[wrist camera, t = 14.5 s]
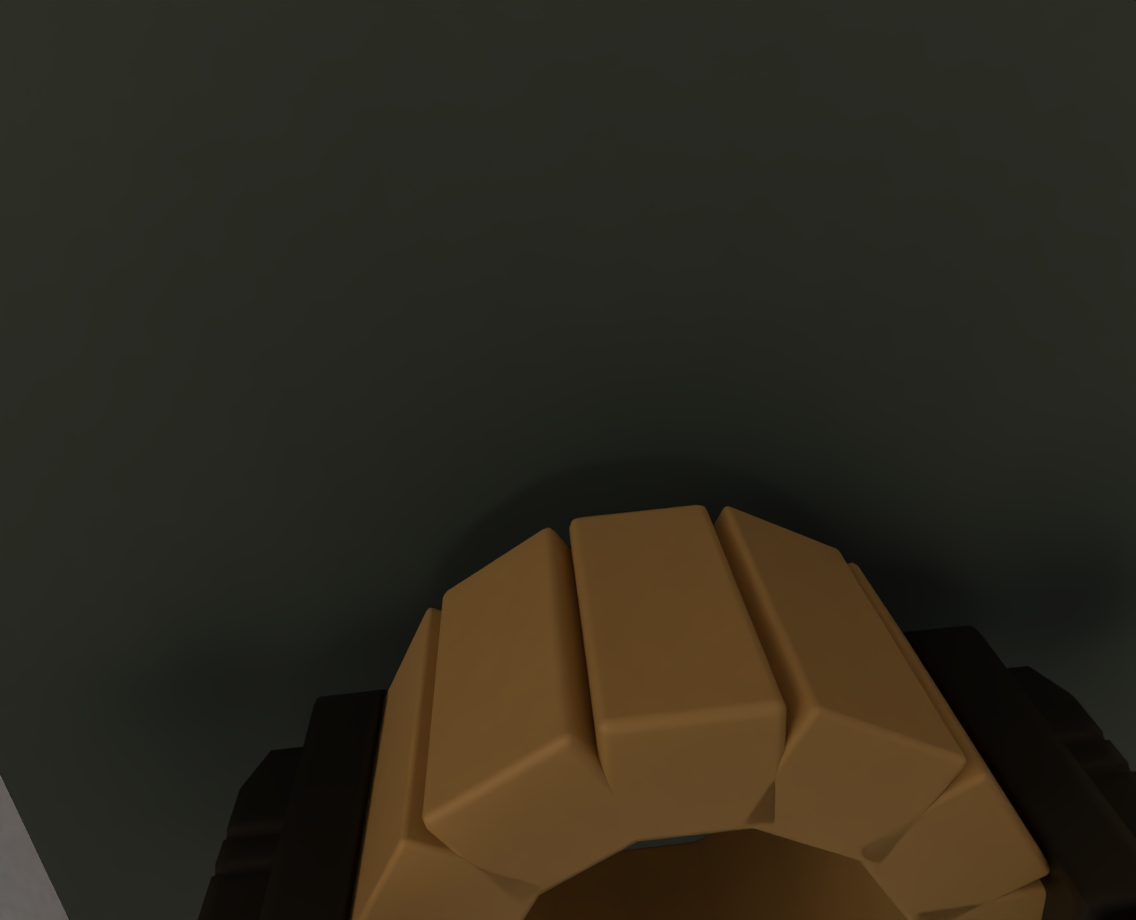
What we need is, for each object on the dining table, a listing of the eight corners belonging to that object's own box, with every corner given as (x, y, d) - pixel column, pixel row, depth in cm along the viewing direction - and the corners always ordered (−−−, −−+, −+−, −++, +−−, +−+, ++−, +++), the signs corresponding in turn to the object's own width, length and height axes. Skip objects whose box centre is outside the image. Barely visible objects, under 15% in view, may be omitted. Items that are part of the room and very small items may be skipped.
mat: (173, 1080, 16) (162, 1120, 15) (-312, 6, 8) (-367, 7, 8) (1128, 966, 16) (1150, 999, 15) (1432, -160, 9) (1492, -170, 8)
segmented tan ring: (430, 937, 12) (410, 1217, 9) (340, 539, 9) (273, 762, 6) (891, 884, 12) (1005, 1143, 9) (929, 475, 9) (1105, 670, 7)
